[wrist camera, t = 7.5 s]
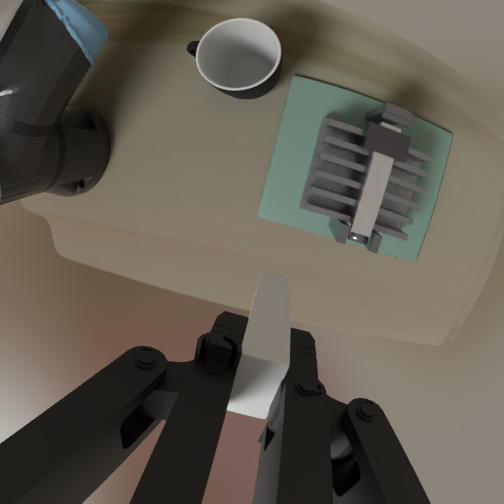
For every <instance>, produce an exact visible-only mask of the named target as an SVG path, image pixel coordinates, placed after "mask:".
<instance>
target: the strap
mask: <svg viewBox="0 0 504 504" xmlns="http://www.w3.org/2000/svg"><path fill="white" fill-rule="evenodd" d="M401 130H402V129H399V128H397V127H394V126H392V125H389V124H387V123H384V122H380V124H376V123H373V122H368V126H367V130H366V134H365V138H364V142H363V146H362V148H364V149H367V150H370V151H373V152H372V155H371V159H370V163H369V166H368V170H367V174H366V177H365V180H364V184H363V187H362V191H361V194H360V197H359V201H358V204H357V207H356V210H355V213H354V216H353V220H352V223H351V226H350V227H351V228H350V231H349V234H348V240H352V241H355V242H358V243H362V244H365V245H366V244H367V243H368V241H369V238H370V235H371V232H372V229H373V226H374V223H375V220H376V217H377V214H378V211H379V208H380V205H381V202H382V199H383V196H384V192H385V189H386V186H387V182H388V179H389V175H390V172H391V168H392V165H393V161H394V160H397V161H399V162H402V163H405V162H406V158H407V154H408V150H409V147H410V142H411V137H409V136H406V135H404V134H401Z"/></svg>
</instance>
